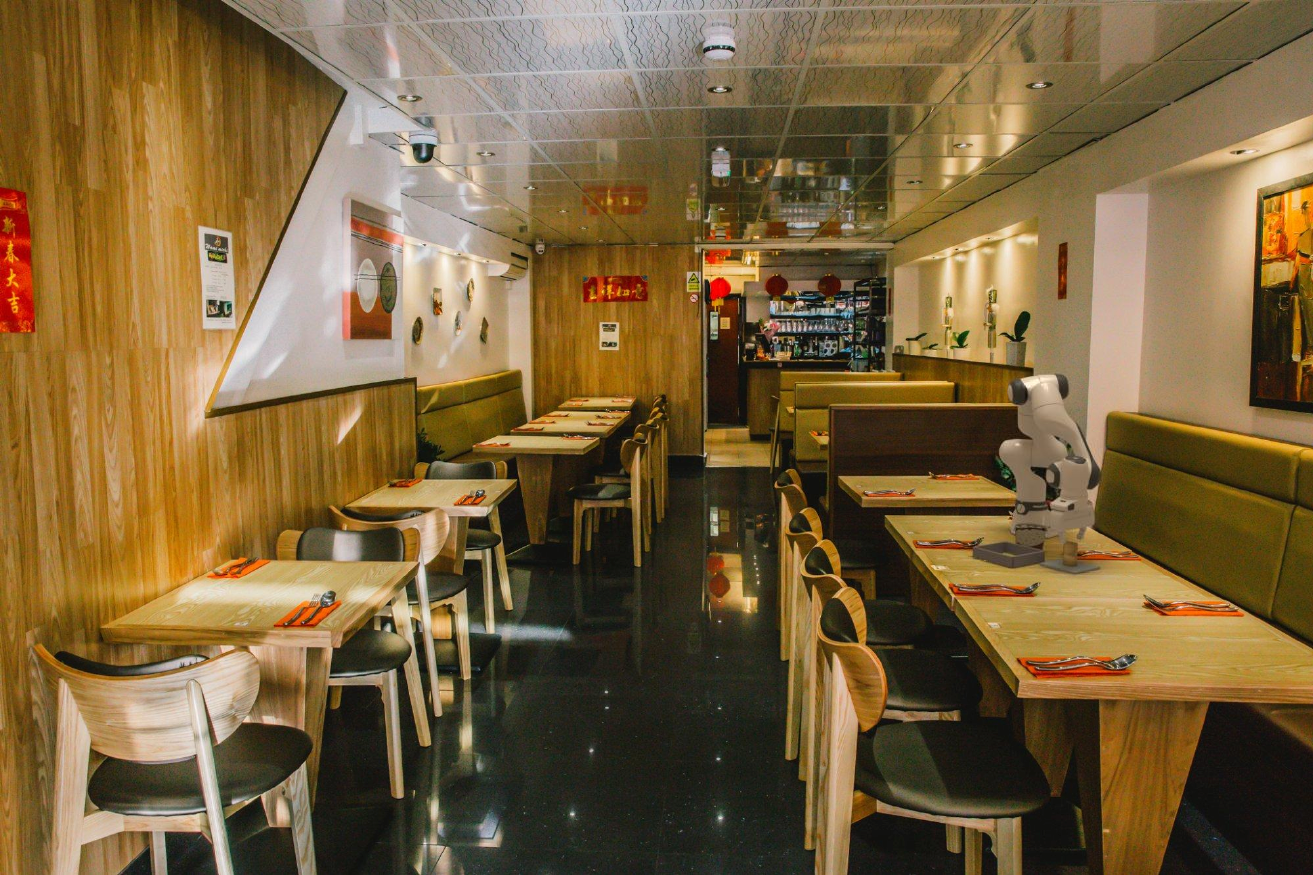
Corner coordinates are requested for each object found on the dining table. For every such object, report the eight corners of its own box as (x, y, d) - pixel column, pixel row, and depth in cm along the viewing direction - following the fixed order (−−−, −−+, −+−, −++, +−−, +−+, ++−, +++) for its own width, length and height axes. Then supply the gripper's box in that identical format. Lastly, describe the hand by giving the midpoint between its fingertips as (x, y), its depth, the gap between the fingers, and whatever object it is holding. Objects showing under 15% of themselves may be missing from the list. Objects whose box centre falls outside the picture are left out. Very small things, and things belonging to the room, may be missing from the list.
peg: (1068, 562, 316) (1069, 540, 315) (1079, 565, 312) (1080, 543, 311) (1060, 564, 314) (1061, 542, 313) (1071, 567, 310) (1072, 544, 309)
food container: (1041, 548, 340) (1042, 523, 339) (1046, 552, 334) (1047, 526, 333) (1008, 547, 341) (1009, 522, 340) (1012, 551, 335) (1014, 525, 334)
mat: (1065, 560, 322) (1065, 558, 322) (1100, 569, 310) (1100, 566, 310) (1039, 565, 316) (1039, 563, 316) (1074, 574, 304) (1074, 572, 303)
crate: (1004, 551, 336) (1005, 541, 335) (1045, 561, 320) (1046, 551, 320) (971, 557, 327) (971, 546, 327) (1011, 568, 312) (1012, 557, 311)
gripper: (1084, 497, 318) (1082, 535, 320) (1046, 504, 308) (1045, 542, 310) (1100, 500, 313) (1098, 538, 314) (1063, 507, 303) (1061, 546, 305)
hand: (1071, 540), depth 312 cm, fingers open, 8 cm apart
